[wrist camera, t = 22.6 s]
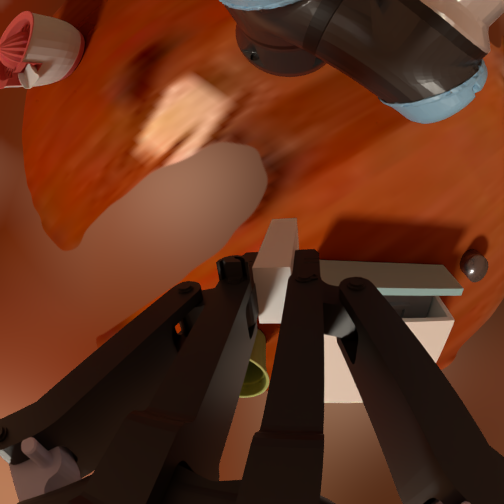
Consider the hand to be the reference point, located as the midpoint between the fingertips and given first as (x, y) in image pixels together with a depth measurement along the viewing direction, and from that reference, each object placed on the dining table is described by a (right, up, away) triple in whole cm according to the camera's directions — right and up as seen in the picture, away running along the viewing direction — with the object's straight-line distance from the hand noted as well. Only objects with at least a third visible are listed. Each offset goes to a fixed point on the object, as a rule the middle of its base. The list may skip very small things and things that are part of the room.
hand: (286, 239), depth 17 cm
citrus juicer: (-41, +41, +20) cm, 61 cm away
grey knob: (+39, -3, +23) cm, 45 cm away
